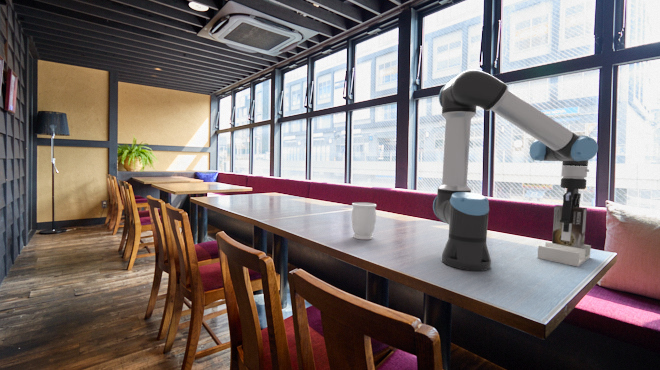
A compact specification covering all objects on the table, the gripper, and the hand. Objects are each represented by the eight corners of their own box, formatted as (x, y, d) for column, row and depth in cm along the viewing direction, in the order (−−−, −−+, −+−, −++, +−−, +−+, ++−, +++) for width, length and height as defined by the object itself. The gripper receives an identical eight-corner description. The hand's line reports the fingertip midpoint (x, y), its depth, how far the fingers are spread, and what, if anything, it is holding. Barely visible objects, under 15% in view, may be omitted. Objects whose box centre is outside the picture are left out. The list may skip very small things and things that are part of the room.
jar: (349, 239, 136) (350, 204, 135) (352, 234, 146) (353, 201, 145) (374, 241, 134) (376, 205, 133) (375, 235, 144) (376, 202, 143)
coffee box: (584, 250, 120) (588, 207, 119) (580, 253, 116) (584, 209, 114) (554, 245, 127) (558, 204, 125) (550, 248, 122) (554, 206, 121)
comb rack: (537, 257, 117) (538, 245, 117) (551, 250, 129) (552, 239, 128) (578, 266, 108) (579, 253, 108) (589, 257, 120) (590, 245, 119)
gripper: (579, 178, 110) (573, 245, 112) (592, 178, 123) (586, 237, 124) (553, 177, 115) (548, 240, 117) (568, 177, 128) (563, 233, 130)
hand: (568, 239), depth 121 cm, fingers closed on coffee box, 7 cm apart
